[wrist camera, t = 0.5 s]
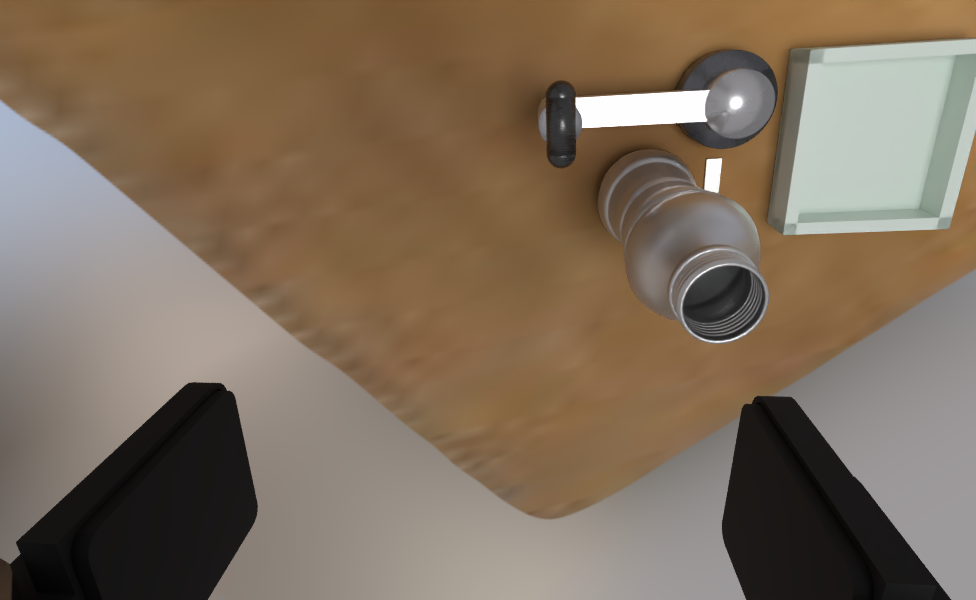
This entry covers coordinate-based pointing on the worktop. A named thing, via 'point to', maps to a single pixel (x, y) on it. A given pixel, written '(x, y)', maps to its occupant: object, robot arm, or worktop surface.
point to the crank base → (696, 79)
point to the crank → (656, 110)
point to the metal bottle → (684, 246)
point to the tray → (874, 137)
